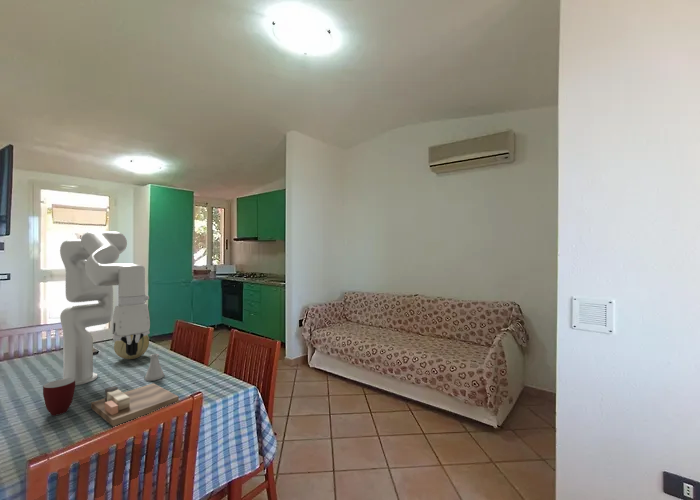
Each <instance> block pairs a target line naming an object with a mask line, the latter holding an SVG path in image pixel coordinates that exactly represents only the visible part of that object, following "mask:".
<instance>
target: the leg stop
mask: <svg viewBox="0 0 700 500" xmlns="http://www.w3.org/2000/svg"><path fill="white" fill-rule="evenodd" d="M105 410H106V411H107V412H108V413H110V414H111V415H113V414H116V413H118V405H117V404H116V403H114V402H113V401H108V402H105Z"/></svg>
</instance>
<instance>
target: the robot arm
mask: <svg viewBox="0 0 700 500" xmlns="http://www.w3.org/2000/svg"><path fill="white" fill-rule="evenodd" d="M127 245H128V241H127V238H126V236H125V235H124V234H123V233H121V232H119V231H108V230H107V231H106V230H105V231H104V230H103V231H101V230H92V231H88V232H86V233H84V234H83V235H82V236H81V237H80V238H79V239H78V238H76V239H67V240H65V241H62V243H61V245H60V250H59V253H60V254H59V255H60V259H61V261H62V263H63V266H64V269H65V299H66V300H67V302H70V303H73V304H74V303H87V302H95V301H97V302H98V303H90V304H80V305H79V304H78V305H71V306H69V307H66V308H65V309H63V310H62V311H61V313H60V315H59V316H60V317H59V318H60V320H59V321H60V323H61V328H62V337H63V338H62V340H63V342H62V343H63V344H62V345H63V347H62V348H63V350H62V351H63V352H62V354H63V356H62V358H63V361H62V363H63V365H62V367H63V370H62V373H63V376H62V377H63V378H62V379H68V378H72V379H75V387H76V386H80V385H84V384H87V383H90V382H93V381H95V380H96V379H97V378H98V373H96V372H94V354H93V353H94V337H93V335H92V334H91V332H89V331H88V330H87V328H90V327H95V326H102V325H107V324H109V323H110V322H111V321H112V323H111V325H112V326H111V334H112V340H113V341H114V342H115V341H123V342H124V343H126V353H127V354H128V355H129V356H133V355H136V352H137V351H138V342H139V340H140V339H141V338H142V337H143V336H146V335H147V336H148V335H150V333H151V332H150V328H151V327H150V326H151V321H150V319H151V318H150V312H149V306H148V303H146V301H149V300H150V296H149V295H146V268H145V266H144V265H143V264H136V263H115V262H117V261H118V259H119V258H120V254H122V253H123V252H124V251H126V249H127V248H128V247H127ZM114 286H117V287H118V288H117V289H118V290H117V291H118V295H117V296H118V301H117V302H118V305H115V306H114ZM130 335H133V338H132V342H131V336H130Z"/></svg>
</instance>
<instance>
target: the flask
mask: <svg viewBox="0 0 700 500" xmlns="http://www.w3.org/2000/svg"><path fill="white" fill-rule="evenodd" d="M159 356H160V354H159V353H153V354H150V355H149V358H150V362H149V366H148V369H147V371H146V374H145V376H144V379H143V380H144V381H147V382H151V381H158V380H160V379H163V378H164V377H165V373H164V371H163V368H162V366H161V364H160V361H159V360H160V359H159Z"/></svg>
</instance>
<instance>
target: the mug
mask: <svg viewBox="0 0 700 500" xmlns="http://www.w3.org/2000/svg"><path fill="white" fill-rule="evenodd" d="M75 390H76V386H75V379H72V378H68V379H63V378H61V379H57V380H53V381H49V382H47V383H45V384H44V385H43V386H42V395H43V400H44V403H45V404H44V405H45V408H46V410H47V411H48V413H49V414H50V415H51V416H60V415H63V414H65V413H67V412H68V410H69V409H70V407H71V405H72V404H73V400H74V395H75Z"/></svg>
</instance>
